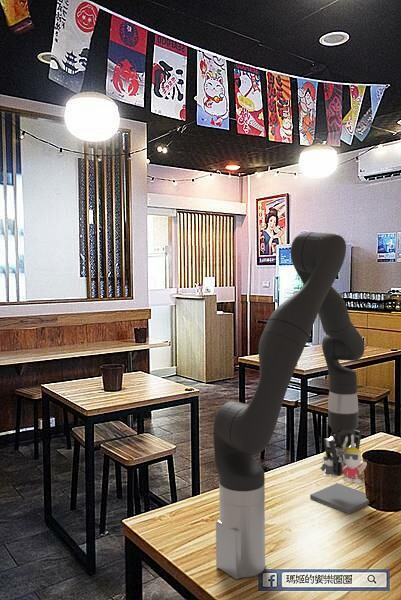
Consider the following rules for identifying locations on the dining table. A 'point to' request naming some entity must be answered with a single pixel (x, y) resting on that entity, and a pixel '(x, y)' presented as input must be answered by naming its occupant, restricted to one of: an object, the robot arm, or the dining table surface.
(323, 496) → the mat
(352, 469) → the toy figures
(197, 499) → the dining table surface
